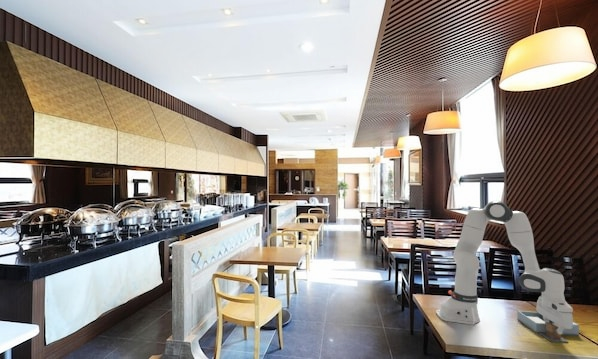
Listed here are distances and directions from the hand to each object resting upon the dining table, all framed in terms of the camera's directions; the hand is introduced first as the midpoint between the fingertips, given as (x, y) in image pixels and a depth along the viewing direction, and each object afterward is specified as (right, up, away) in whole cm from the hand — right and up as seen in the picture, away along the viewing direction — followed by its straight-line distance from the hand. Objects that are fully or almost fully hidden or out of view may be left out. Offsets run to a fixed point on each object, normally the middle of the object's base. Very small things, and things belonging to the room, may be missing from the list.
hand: (553, 329), depth 149 cm
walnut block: (0, -4, 0) cm, 4 cm away
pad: (0, -4, 0) cm, 4 cm away
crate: (+7, -5, +12) cm, 14 cm away
